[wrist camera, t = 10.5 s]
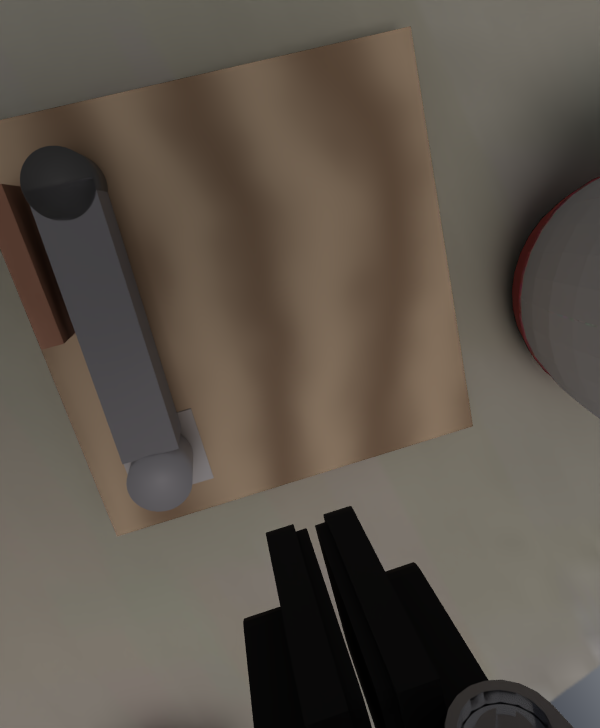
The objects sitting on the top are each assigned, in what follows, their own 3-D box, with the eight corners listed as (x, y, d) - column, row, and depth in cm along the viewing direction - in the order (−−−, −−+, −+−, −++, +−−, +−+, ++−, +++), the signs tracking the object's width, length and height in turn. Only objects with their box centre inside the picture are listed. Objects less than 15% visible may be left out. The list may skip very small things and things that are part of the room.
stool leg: (200, 474, 30) (199, 501, 28) (143, 490, 30) (137, 519, 27) (98, 146, 25) (85, 138, 22) (28, 161, 25) (6, 154, 22)
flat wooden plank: (121, 517, 33) (107, 575, 28) (-30, 136, 26) (-88, 118, 21) (458, 414, 35) (503, 449, 30) (396, 38, 28) (440, -1, 23)
